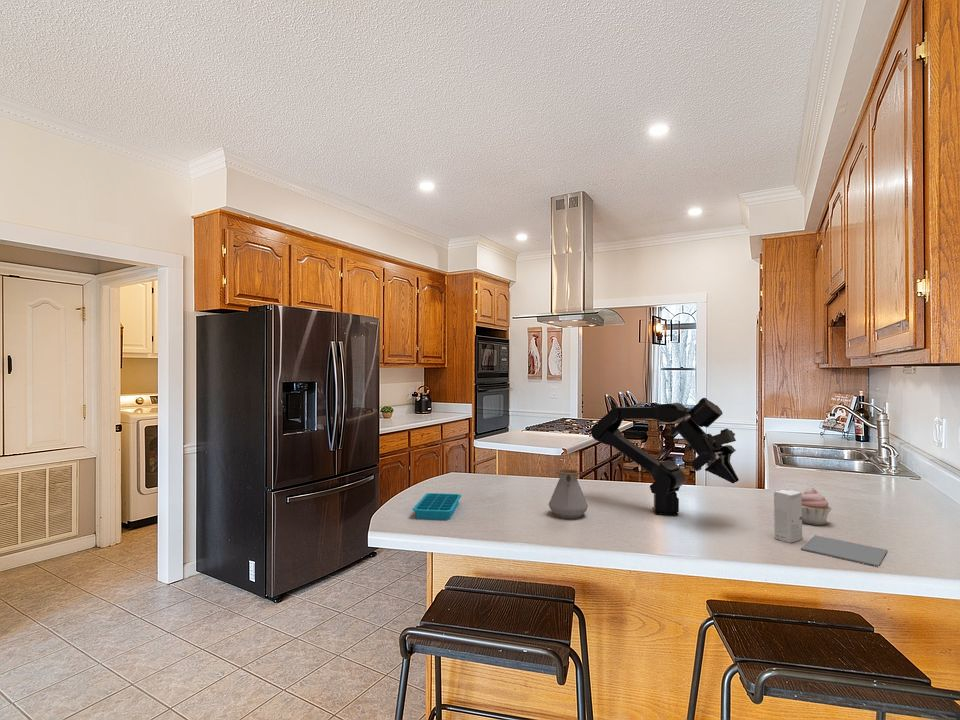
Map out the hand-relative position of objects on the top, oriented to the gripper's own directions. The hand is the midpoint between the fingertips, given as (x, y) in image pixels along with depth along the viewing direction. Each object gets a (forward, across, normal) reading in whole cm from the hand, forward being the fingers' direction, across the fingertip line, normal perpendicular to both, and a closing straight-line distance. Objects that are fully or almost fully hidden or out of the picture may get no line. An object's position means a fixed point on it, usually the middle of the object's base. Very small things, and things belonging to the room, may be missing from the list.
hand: (736, 481), depth 142 cm
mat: (+26, 0, -9) cm, 28 cm away
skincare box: (+18, 0, 0) cm, 18 cm away
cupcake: (+19, +21, 0) cm, 28 cm away
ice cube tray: (-40, -48, +59) cm, 86 cm away
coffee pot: (-17, -27, +35) cm, 47 cm away
